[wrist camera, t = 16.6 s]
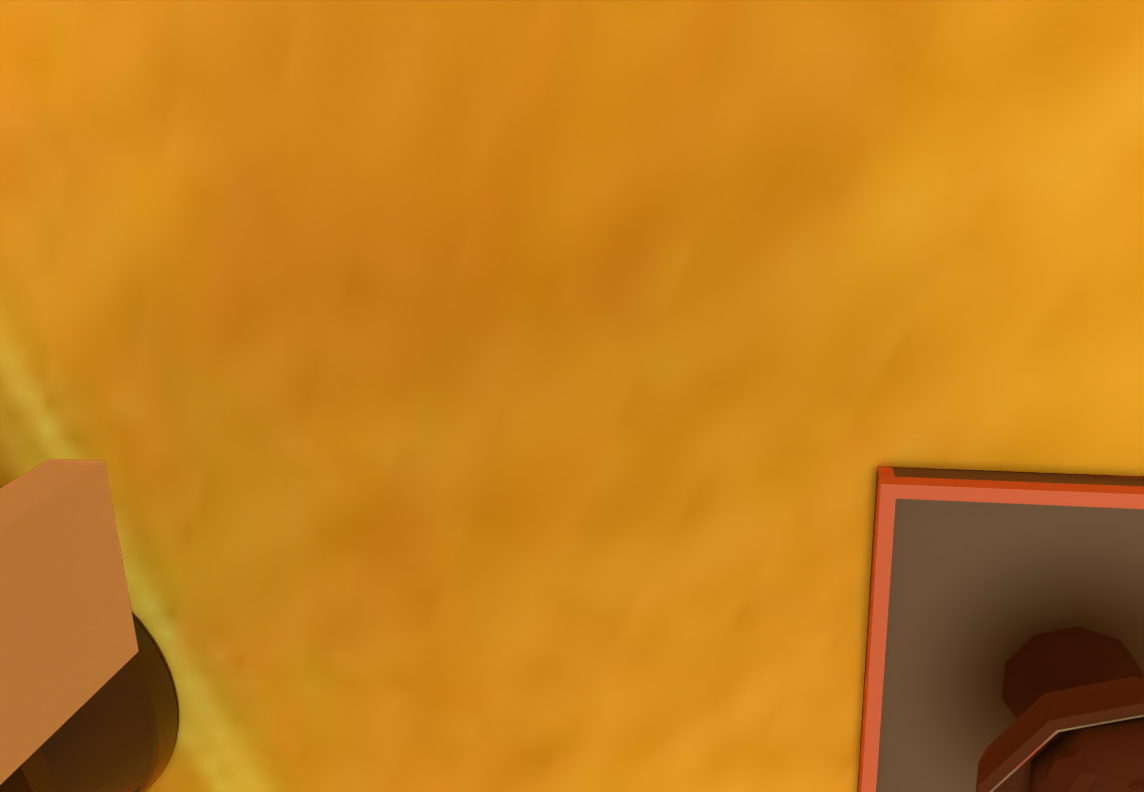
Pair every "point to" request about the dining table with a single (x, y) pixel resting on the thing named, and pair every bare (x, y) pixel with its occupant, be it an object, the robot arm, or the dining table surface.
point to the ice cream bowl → (1069, 718)
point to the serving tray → (983, 605)
